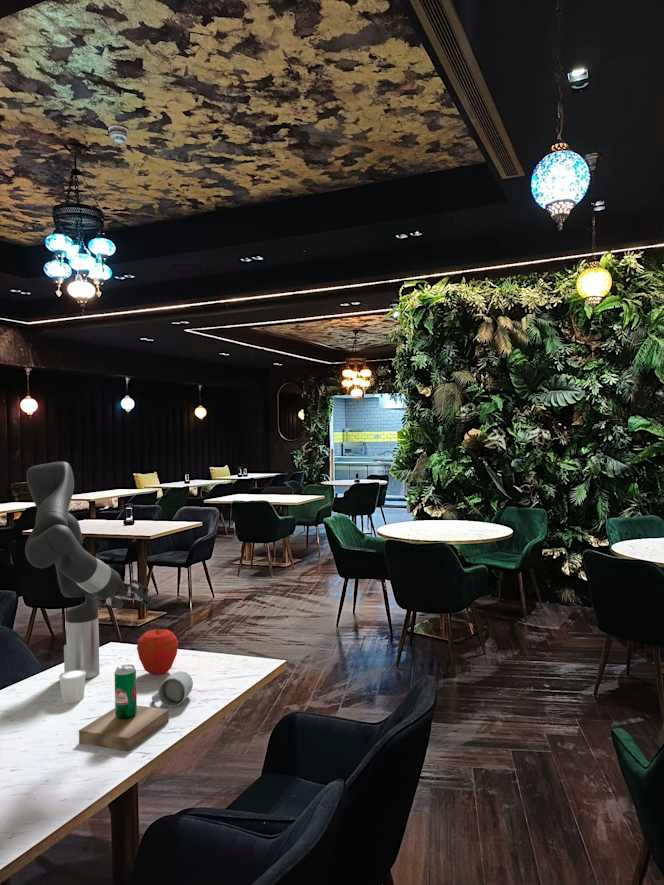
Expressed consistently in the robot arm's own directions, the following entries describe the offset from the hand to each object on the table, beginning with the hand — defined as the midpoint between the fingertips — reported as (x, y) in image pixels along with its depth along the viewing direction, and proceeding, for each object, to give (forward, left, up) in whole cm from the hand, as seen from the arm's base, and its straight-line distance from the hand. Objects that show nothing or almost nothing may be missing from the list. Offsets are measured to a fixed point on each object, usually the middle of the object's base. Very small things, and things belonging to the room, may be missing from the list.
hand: (135, 604), depth 165 cm
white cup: (-23, +3, -29) cm, 37 cm away
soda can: (+2, -8, -26) cm, 27 cm away
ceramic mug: (+4, +9, -29) cm, 30 cm away
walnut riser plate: (+4, -10, -28) cm, 30 cm away
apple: (-11, +26, -29) cm, 40 cm away
